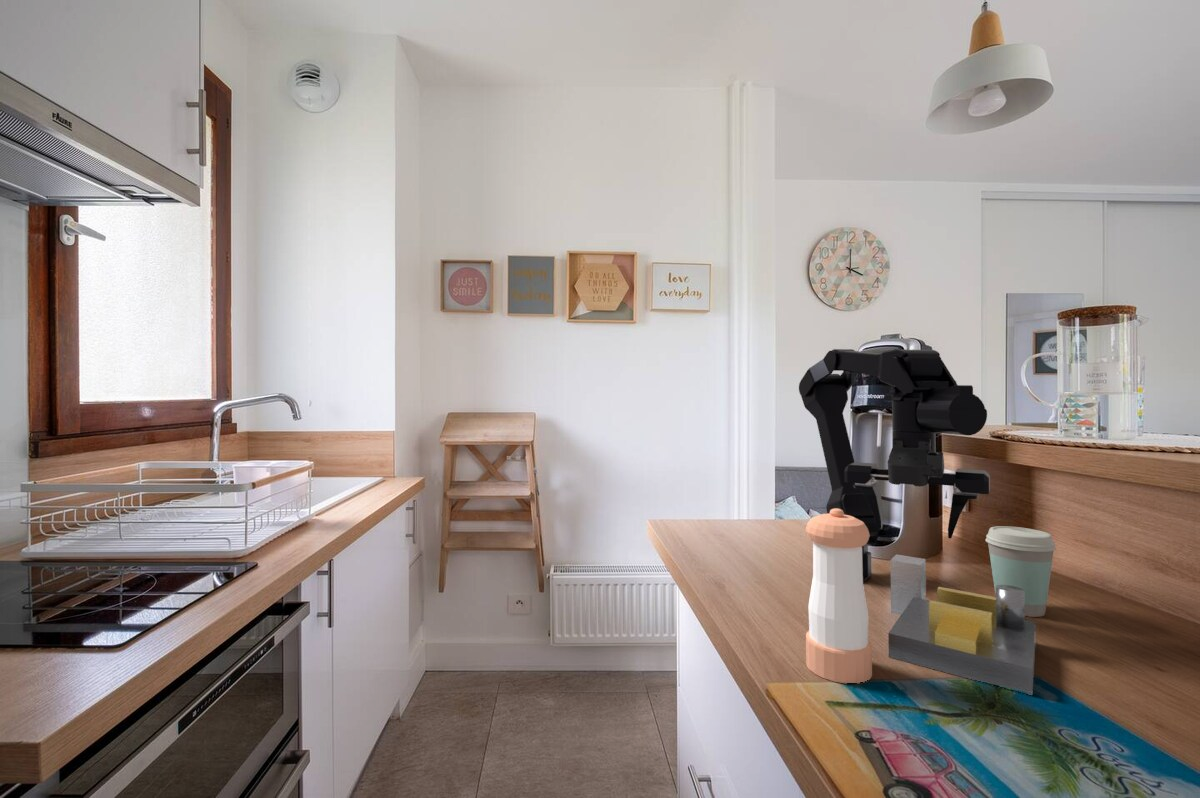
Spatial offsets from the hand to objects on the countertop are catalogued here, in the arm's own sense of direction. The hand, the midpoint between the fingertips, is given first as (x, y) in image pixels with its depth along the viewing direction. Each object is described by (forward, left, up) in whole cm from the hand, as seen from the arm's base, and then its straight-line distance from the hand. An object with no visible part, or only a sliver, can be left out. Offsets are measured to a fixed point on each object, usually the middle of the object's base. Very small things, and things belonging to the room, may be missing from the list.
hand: (914, 533), depth 81 cm
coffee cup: (+12, +11, -12) cm, 21 cm away
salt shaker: (-4, -26, -12) cm, 29 cm away
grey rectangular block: (-1, -1, -12) cm, 12 cm away
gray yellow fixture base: (+7, -11, -12) cm, 18 cm away
